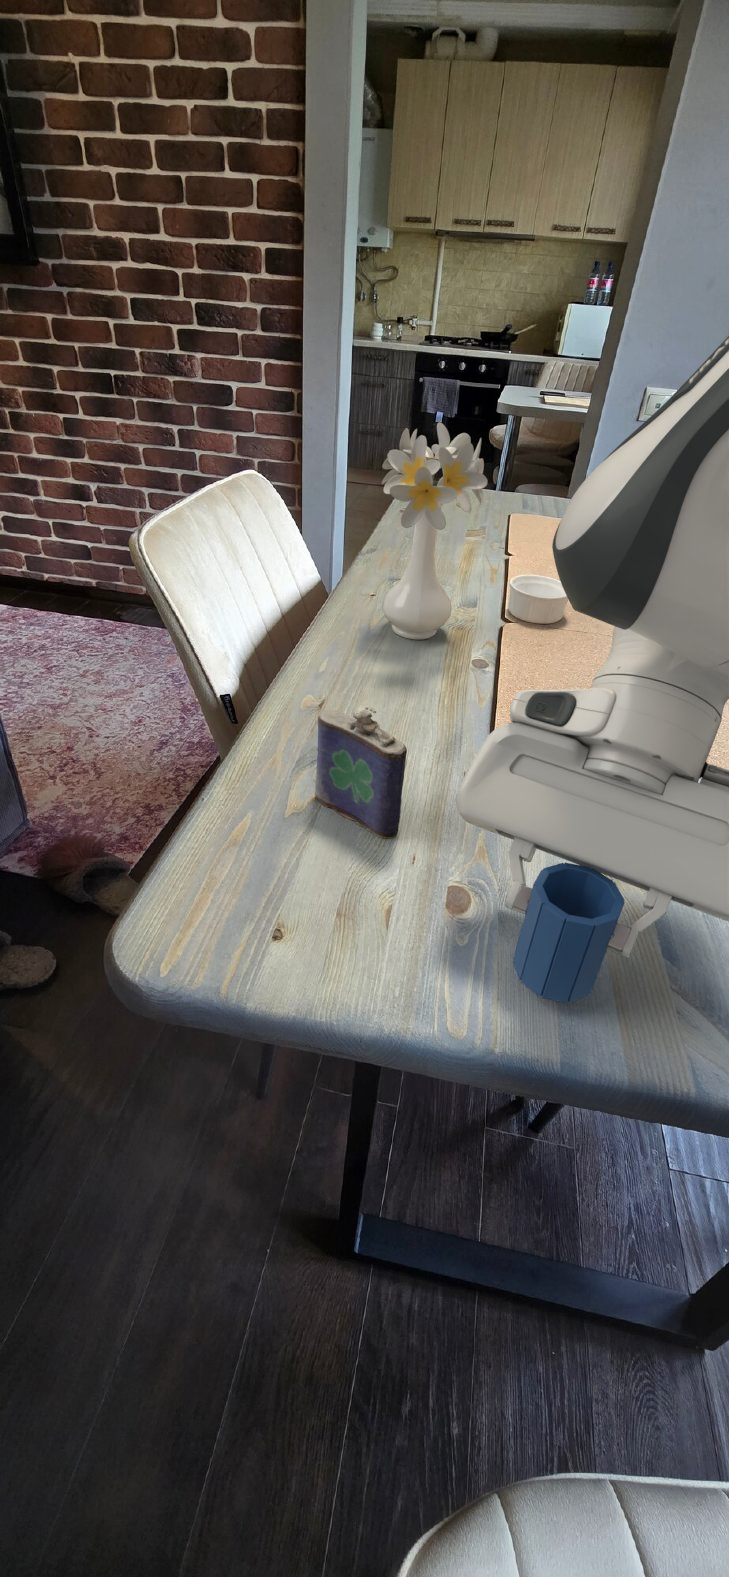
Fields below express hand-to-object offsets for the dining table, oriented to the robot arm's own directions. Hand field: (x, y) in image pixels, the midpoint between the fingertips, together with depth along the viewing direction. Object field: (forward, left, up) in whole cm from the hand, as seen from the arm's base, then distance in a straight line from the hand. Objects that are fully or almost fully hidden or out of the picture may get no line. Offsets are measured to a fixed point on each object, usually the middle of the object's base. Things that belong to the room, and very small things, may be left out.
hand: (564, 931), depth 49 cm
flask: (+21, -10, -6) cm, 24 cm away
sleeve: (0, -1, -4) cm, 4 cm away
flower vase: (+34, -49, -6) cm, 60 cm away
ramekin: (+23, -66, -6) cm, 70 cm away
